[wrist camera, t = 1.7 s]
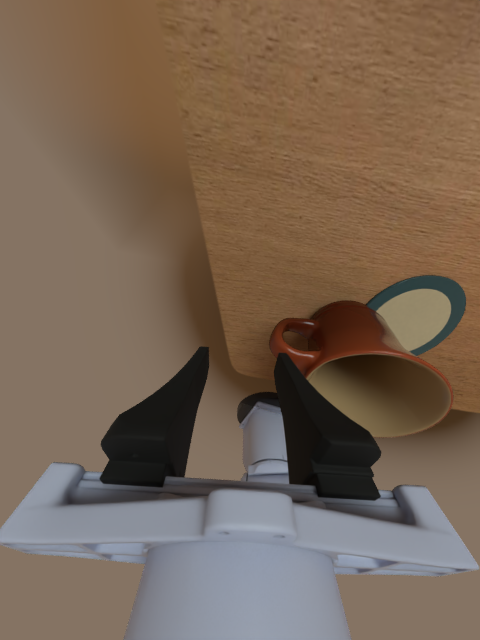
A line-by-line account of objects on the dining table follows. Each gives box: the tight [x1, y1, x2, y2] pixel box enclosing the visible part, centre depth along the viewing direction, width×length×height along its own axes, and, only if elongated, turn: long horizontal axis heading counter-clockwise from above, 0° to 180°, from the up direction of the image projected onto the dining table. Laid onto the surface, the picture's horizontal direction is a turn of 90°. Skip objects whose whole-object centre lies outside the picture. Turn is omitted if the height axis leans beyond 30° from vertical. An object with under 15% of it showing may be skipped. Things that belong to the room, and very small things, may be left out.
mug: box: [269, 301, 453, 438], centre depth 17 cm, size 12×9×10 cm
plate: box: [366, 275, 466, 356], centre depth 21 cm, size 12×12×1 cm
